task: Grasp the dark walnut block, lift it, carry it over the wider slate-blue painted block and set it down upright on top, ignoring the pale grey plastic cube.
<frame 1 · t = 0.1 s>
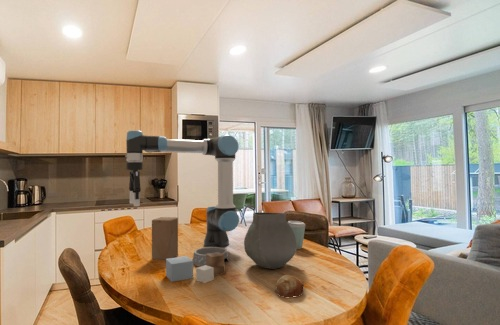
hand: (134, 204, 154), 28 cm above the table, fingers open, 13 cm apart
dog bowl: (210, 261, 153), on the table
slate block: (179, 276, 131), on the table
bread roll: (289, 293, 113), on the table
wooden block: (165, 257, 161), on the table
grey cube: (204, 280, 127), on the table
disposable coffee cup: (296, 248, 178), on the table
ceramic pot: (270, 266, 144), on the table
walnut block: (215, 272, 135), on the table
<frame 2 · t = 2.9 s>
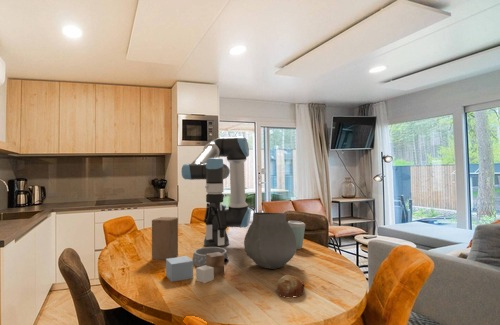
hand: (214, 242, 135), 13 cm above the table, fingers open, 13 cm apart
nothing on the table moved.
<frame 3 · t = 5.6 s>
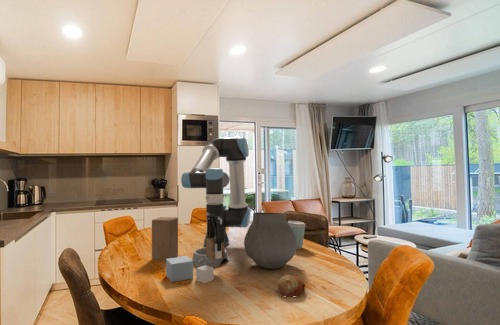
hand: (215, 256, 136), 7 cm above the table, fingers closed on walnut block, 6 cm apart
walnut block: (215, 257, 136), point 7 cm above the table, touching gripper
everything else where it was.
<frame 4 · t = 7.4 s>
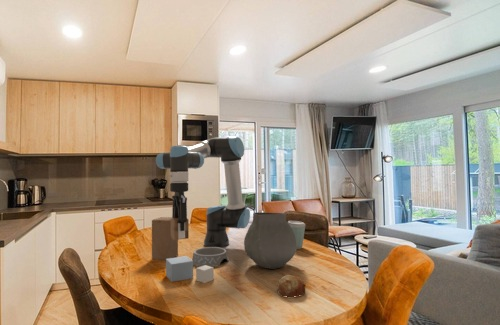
hand: (179, 236, 131), 17 cm above the table, fingers closed on walnut block, 6 cm apart
walnut block: (179, 237, 131), point 16 cm above the table, touching gripper
everything else where it was.
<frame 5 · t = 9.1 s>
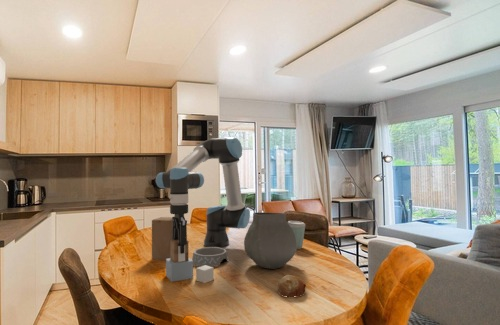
hand: (179, 258, 131), 7 cm above the table, fingers closed on walnut block, 6 cm apart
walnut block: (179, 259, 131), point 7 cm above the table, touching gripper, slate block
everything else where it was.
when the fingers open (7 cm above the table, at t = 9.7 s): walnut block stays where it is, resting on slate block.
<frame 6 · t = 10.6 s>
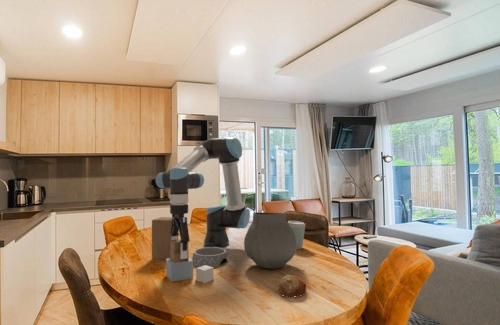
hand: (179, 254, 131), 9 cm above the table, fingers open, 13 cm apart
walnut block: (179, 259, 131), point 7 cm above the table, touching slate block
everything else where it was.
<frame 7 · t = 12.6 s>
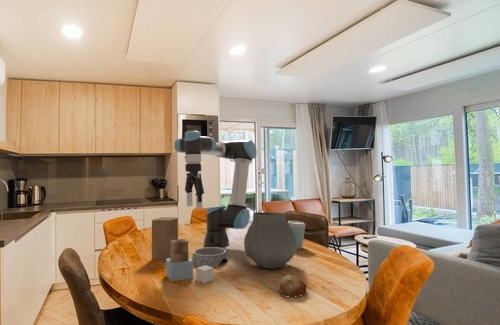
hand: (194, 207, 149), 27 cm above the table, fingers open, 13 cm apart
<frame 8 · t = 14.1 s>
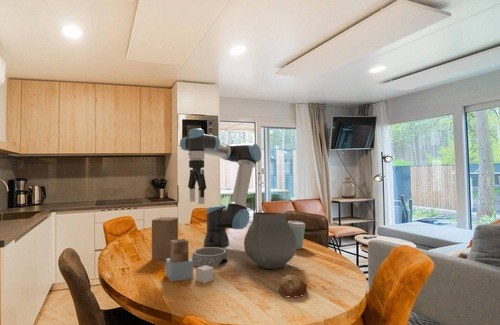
hand: (196, 202, 154), 29 cm above the table, fingers open, 13 cm apart
at the end: walnut block inside the target area on the slate block (0.0 cm from its centre), point 7.0 cm above the slate block's base; walnut block tilted 0°; the gripper is holding nothing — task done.
